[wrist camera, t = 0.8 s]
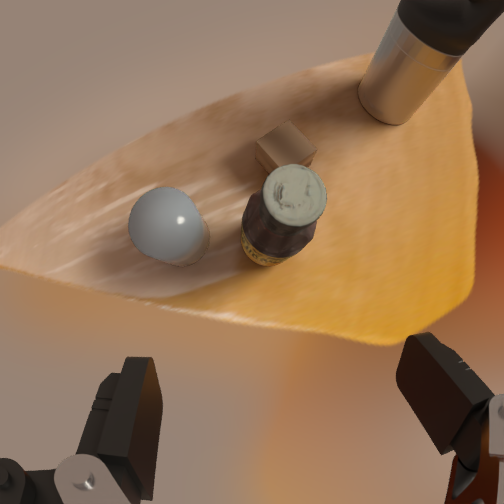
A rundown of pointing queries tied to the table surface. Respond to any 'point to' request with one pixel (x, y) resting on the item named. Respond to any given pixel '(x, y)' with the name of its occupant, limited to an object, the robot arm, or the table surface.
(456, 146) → the table surface
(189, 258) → the grey rounded cylinder
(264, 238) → the sauce bottle
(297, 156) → the walnut block
